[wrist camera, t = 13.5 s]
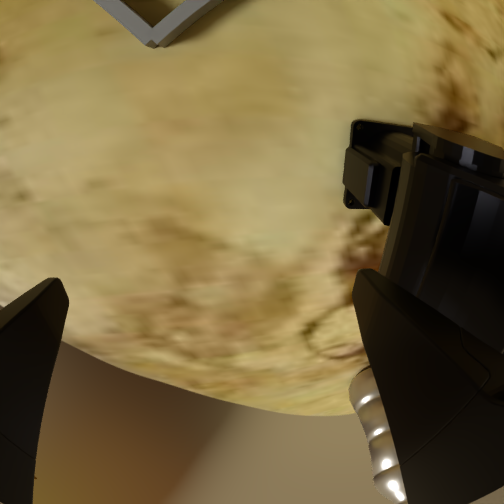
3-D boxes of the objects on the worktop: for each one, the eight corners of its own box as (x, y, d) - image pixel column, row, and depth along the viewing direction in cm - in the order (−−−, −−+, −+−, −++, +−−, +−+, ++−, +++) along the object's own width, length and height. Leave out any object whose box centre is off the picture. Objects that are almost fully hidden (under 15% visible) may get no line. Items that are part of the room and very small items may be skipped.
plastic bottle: (334, 387, 35) (368, 529, 18) (366, 355, 31) (418, 512, 15) (370, 390, 36) (408, 516, 19) (401, 360, 33) (454, 496, 16)
